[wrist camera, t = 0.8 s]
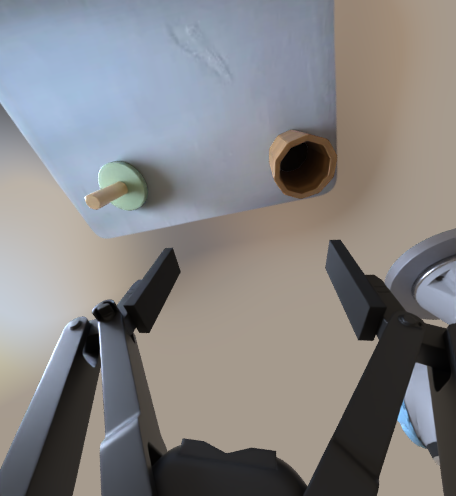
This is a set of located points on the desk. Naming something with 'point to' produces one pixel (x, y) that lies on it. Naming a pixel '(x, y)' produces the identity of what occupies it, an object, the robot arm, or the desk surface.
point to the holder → (119, 187)
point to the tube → (303, 164)
